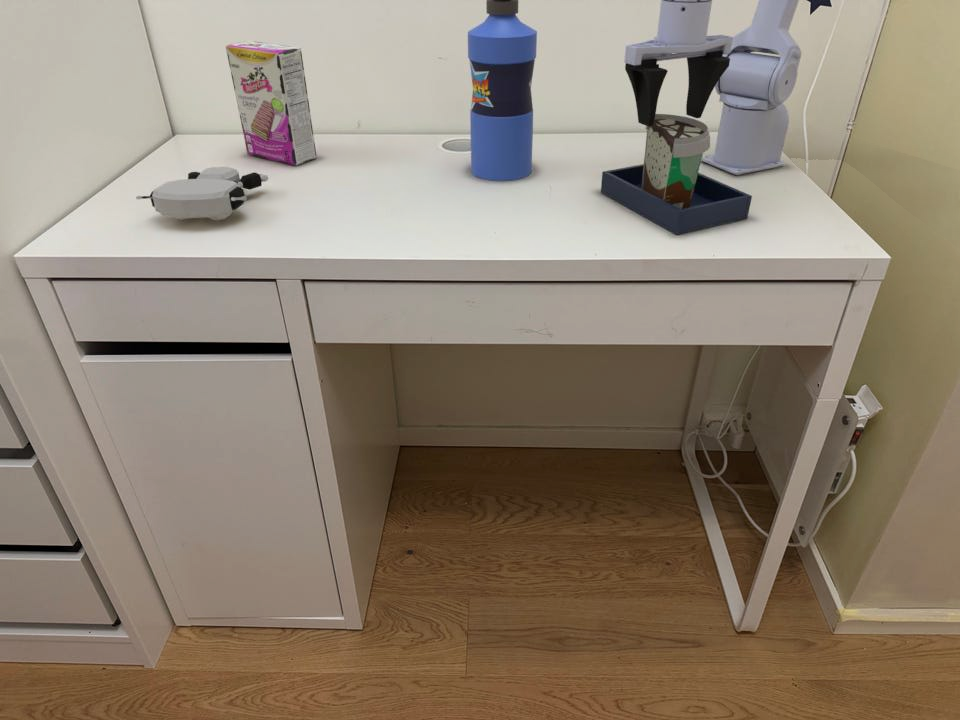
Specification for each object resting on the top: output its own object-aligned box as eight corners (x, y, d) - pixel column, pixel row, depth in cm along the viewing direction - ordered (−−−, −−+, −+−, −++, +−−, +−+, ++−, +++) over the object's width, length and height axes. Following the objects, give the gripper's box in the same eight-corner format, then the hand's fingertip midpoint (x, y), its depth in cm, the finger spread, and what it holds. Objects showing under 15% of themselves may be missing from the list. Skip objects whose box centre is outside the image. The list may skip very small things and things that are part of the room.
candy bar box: (245, 155, 110) (222, 45, 101) (268, 147, 114) (249, 39, 105) (295, 167, 105) (277, 51, 96) (318, 158, 109) (302, 46, 100)
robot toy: (192, 194, 98) (140, 228, 85) (186, 162, 96) (131, 192, 83) (276, 195, 98) (236, 230, 85) (271, 163, 95) (230, 194, 82)
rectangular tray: (665, 180, 99) (668, 159, 97) (747, 218, 87) (752, 195, 85) (600, 192, 95) (602, 171, 93) (676, 235, 83) (680, 211, 81)
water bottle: (514, 157, 108) (517, -24, 94) (544, 175, 101) (552, -19, 87) (460, 166, 105) (455, -21, 91) (487, 185, 98) (485, -14, 84)
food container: (713, 220, 85) (728, 138, 80) (664, 221, 85) (676, 140, 79) (682, 185, 95) (694, 111, 90) (638, 187, 95) (647, 112, 90)
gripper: (711, -8, 85) (693, 106, 93) (614, -1, 80) (603, 119, 87) (753, -2, 80) (731, 118, 87) (652, 6, 75) (637, 133, 82)
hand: (669, 120), depth 87 cm, fingers open, 7 cm apart
